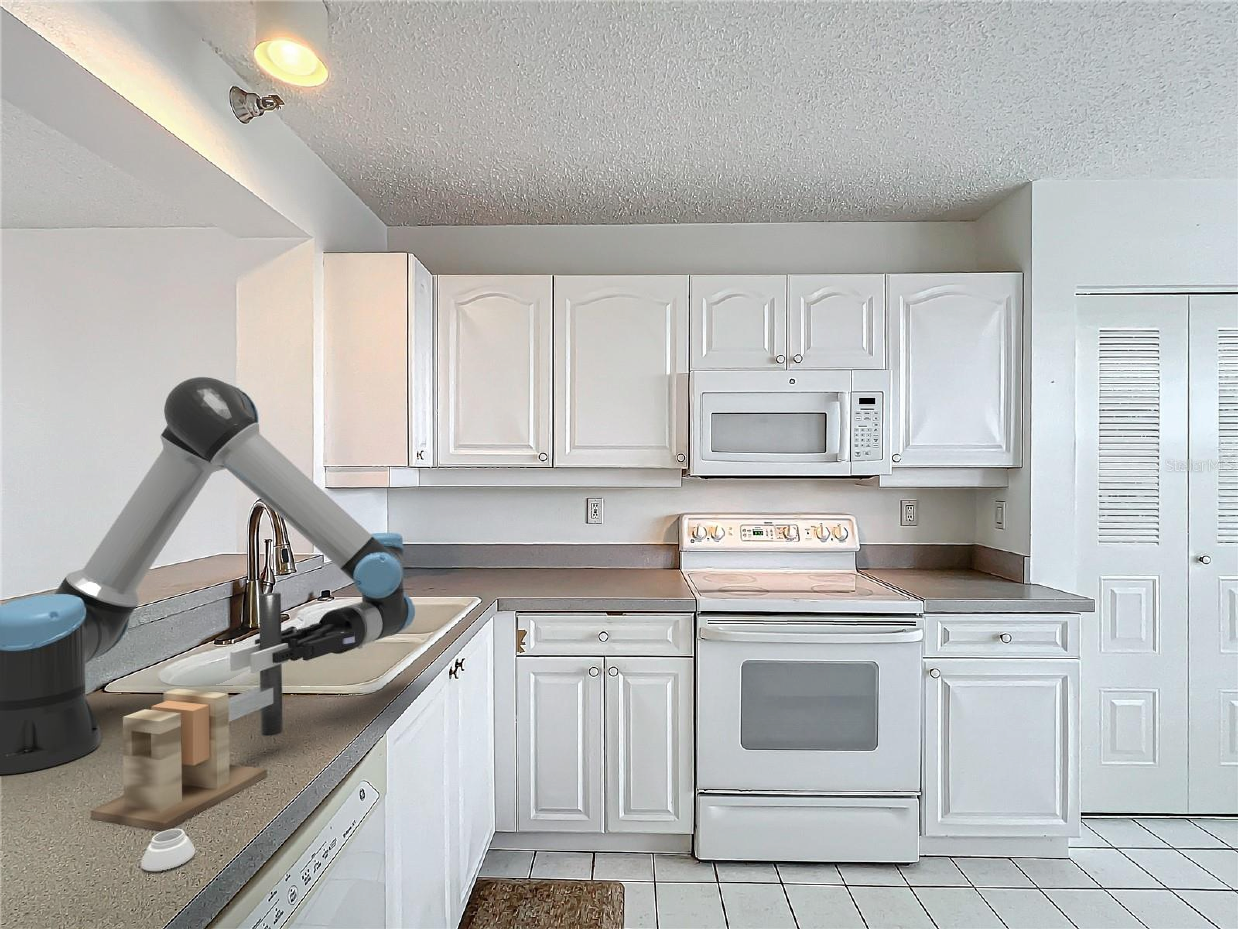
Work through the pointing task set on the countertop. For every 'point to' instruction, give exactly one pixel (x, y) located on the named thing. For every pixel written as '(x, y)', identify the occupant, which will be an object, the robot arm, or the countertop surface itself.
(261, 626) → the crank handle
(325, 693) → the countertop surface
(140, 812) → the bearing stand
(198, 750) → the spacer
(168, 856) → the lidless jar
